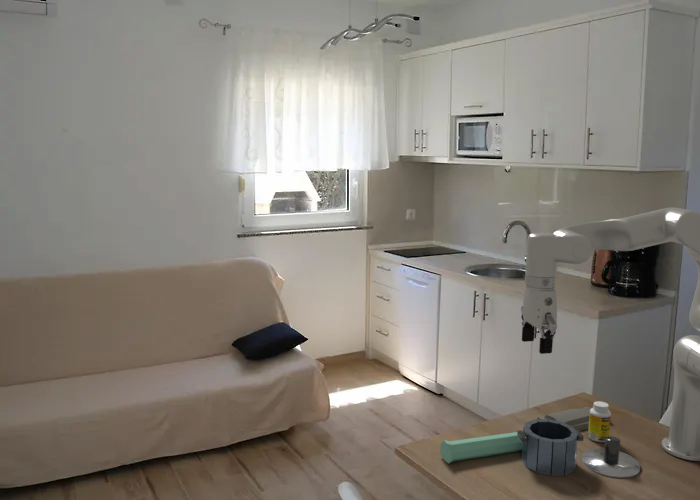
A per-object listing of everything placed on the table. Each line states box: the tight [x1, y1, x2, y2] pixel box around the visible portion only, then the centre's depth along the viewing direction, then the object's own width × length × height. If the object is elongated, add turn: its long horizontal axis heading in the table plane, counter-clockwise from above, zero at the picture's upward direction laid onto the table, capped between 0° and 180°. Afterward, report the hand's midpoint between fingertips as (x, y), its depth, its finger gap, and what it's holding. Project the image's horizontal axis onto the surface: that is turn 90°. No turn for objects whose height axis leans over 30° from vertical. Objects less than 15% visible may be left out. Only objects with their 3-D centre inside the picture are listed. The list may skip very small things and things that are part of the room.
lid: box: [581, 435, 641, 479], centre depth 167 cm, size 14×14×7 cm
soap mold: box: [536, 406, 613, 432], centre depth 192 cm, size 10×20×4 cm, turn 114°
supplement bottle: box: [587, 401, 612, 443], centre depth 181 cm, size 6×6×10 cm
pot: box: [516, 418, 585, 477], centre depth 167 cm, size 16×13×9 cm
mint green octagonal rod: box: [439, 431, 523, 464], centre depth 172 cm, size 6×6×25 cm
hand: (536, 346), depth 167 cm, fingers open, 9 cm apart
